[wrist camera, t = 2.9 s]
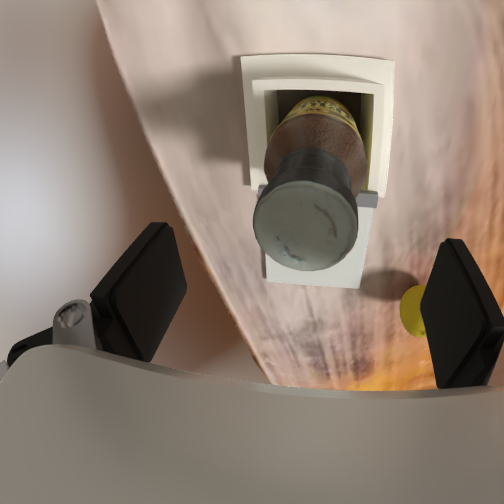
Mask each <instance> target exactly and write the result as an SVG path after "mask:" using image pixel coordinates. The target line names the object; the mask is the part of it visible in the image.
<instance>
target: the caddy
mask: <svg viewBox="0 0 504 504" xmlns="http://www.w3.org/2000/svg"><path fill="white" fill-rule="evenodd" d="M241 68H242V79H243V91H244V104H245V116H246V128H247V140H248V153H249V165H250V178H251V190H258V195H259V197H260V195H261V193H262V191H263V189H264V188H265V187H266V186H267V184H268V181H267V179H266V176H265V172H264V159H265V153H266V149H267V146H268V144H269V141H270V139H271V136H272V134H273V132H274V131H275V130H276V128H277V127H278V126H279V122H278V102H277V90H329V91H346V92H358V93H361V122H360V137H361V139H362V142H363V146H364V150H365V155H366V160H367V174H366V178H365V182H364V184H363V187H362V189H361V191H360V192H359V194H358V196H357V198H356V203H357V207H368V208H377V201H378V197H384V198H385V192H386V185H387V177H388V169H389V159H390V149H391V138H392V124H393V105H394V61H389V60H382V59H374V58H365V57H354V56H341V55H322V54H275V55H256V56H242V57H241Z"/></svg>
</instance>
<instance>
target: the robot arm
mask: <svg viewBox="0 0 504 504" xmlns="http://www.w3.org/2000/svg"><path fill="white" fill-rule="evenodd" d="M186 291H187V283H186V280H185V276H184V272H183V268H182V264H181V260H180V256H179V252H178V248H177V244H176V240H175V235H174V231H173V228H172V227H169V225H168V224H167V223H166V222H165V223H164V222H151V223H150V224H149V225H148V226H147V227H146V228H145V230H144V231H143V232H142V233H141V234H140V235H139V236H138V237H137V239H136V240H135V241H134V242H133V243H132V244H131V245H130V246H129V248H128V249H127V250H126V251H125V252H124V253H123V255H122V256H121V257H120V258H119V259H118V260H117V262H116V263H115V264H114V265H113V266H112V268H111V269H110V270H109V271H108V273H107V274H106V275H105V276H104V277H103V279H102V280H101V281H100V282H99V284H98V285H97V286H96V288H95V289H94V290H93V291H92V293H91V294H90V297H91V299H92V301H91V303H90V304H89V303H88V302H87V301H85V300H82V299H79V300H73V301H70V302H68V303H66V304H64V305H63V306H62V307H61V308H60V309H59V310H58V311H57V312H56V314H55V316H54V319H53V327H51V328H48V329H46V330H44V331H41V332H39V333H37V334H34V335H33V336H30V337H28V338H25V339H23V340H21V341H19V342H17V343H16V344H14V346H13V347H12V348H11V350H10V352H9V354H8V358H7V362H6V361H5V360H3V361H2V362H1V363H0V504H504V317H503V314H502V312H501V310H500V308H499V306H498V304H497V302H496V300H495V297H494V295H493V293H492V291H491V289H490V288H489V286H488V284H487V282H486V280H485V278H484V276H483V274H482V272H481V271H480V269H479V267H478V265H477V264H476V262H475V260H474V258H473V257H472V255H471V253H470V252H469V250H468V248H467V247H466V245H465V243H464V242H463V240H461V239H452V238H447V239H446V240H445V242H442V243H441V244H440V246H439V250H438V253H437V256H436V259H435V262H434V265H433V268H432V271H431V274H430V277H429V280H428V283H427V286H426V288H425V291H424V294H423V296H422V299H421V302H420V311H421V315H422V319H423V323H424V327H425V331H426V335H427V340H428V344H429V348H430V353H431V358H432V363H433V368H434V373H435V379H436V385H437V387H438V388H439V389H433V390H412V391H347V390H326V389H311V388H298V387H287V386H278V385H269V384H261V383H253V382H246V381H239V380H232V379H226V378H220V377H213V376H208V375H203V374H198V373H192V372H187V371H182V370H178V369H173V368H169V367H164V366H160V365H156V364H151V363H149V362H150V361H151V360H152V358H153V356H154V354H155V352H156V350H157V348H158V346H159V344H160V342H161V340H162V338H163V336H164V334H165V333H166V331H167V329H168V327H169V325H170V322H171V321H172V319H173V317H174V315H175V313H176V311H177V309H178V307H179V305H180V303H181V301H182V300H183V298H184V296H185V294H186Z"/></svg>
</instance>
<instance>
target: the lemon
mask: <svg viewBox="0 0 504 504" xmlns="http://www.w3.org/2000/svg"><path fill="white" fill-rule="evenodd" d="M425 288H426V286H425V285H416V286H413V287H411V288H410V289H408V290H407V291H406V292H405V293H404V295H403V297H402V299H401V302H400V317H401V320H402V323H403V325H404V327H405V329H406V330H407V331H408V332H409V333H410V334H411V335H413V336H415V337H427V335H426V331H425V327H424V323H423V319H422V315H421V311H420V302H421V299H422V296H423V294H424V291H425Z"/></svg>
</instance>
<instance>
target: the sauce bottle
mask: <svg viewBox="0 0 504 504" xmlns="http://www.w3.org/2000/svg"><path fill="white" fill-rule="evenodd" d="M264 172H265V176H266V179H267V181H268V184H267V186H266V187H265V188H264V189H263V191H262V193H261V195H260V197H259V199H258V202H257V204H256V207H255V211H254V215H253V229H254V232H255V237H256V239H257V241H258V243H259V245H260V247H261V248H262V249H263V251H264V252H265V253H266V254H267V255H269V256H270V257H271V258H272V259H273V260H274V261H276V262H277V263H279V264H281V265H283V266H285V267H288V268H291V269H295V270H299V271H316V270H324V269H327V268H330V267H332V266H334V265H336V264H337V263H339V262H340V261H341V260H343V259H344V258H345V256H346V255H347V254H348V253H349V252H350V251H351V250H352V248H353V247H354V244H355V241H356V239H357V233H358V207H357V203H356V198H357V196H358V194H359V192H360V191H361V189H362V187H363V184H364V182H365V178H366V174H367V160H366V155H365V150H364V146H363V142H362V139H361V137H360V134H359V132H358V129H357V127H356V124H355V122H354V120H353V117H352V115H351V113H350V112H349V110H348V109H347V108H346V107H345V106H344V105H343V104H342V103H341V102H339V101H338V100H336V99H334V98H331V97H328V96H323V95H316V96H311V97H307V98H305V99H303V100H301V101H300V102H298V103H297V104H296V105H295V106H294V107H293V108H292V110H291V111H290V112H289V113H288V114H287V116H286V117H285V118H284V120H283V121H282V122H281V123H280V125H279V126H278V127H277V128H276V130H275V131H274V132H273V134H272V136H271V139H270V141H269V144H268V146H267V149H266V153H265V159H264Z"/></svg>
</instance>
